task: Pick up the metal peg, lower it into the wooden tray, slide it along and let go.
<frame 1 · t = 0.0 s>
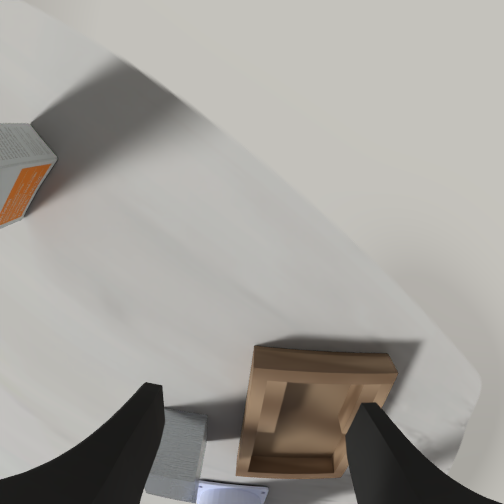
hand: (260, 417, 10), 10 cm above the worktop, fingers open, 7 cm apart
skincare box: (27, 171, 18), on the worktop
wooden tray: (304, 416, 23), on the worktop
metal peg: (184, 425, 24), on the worktop
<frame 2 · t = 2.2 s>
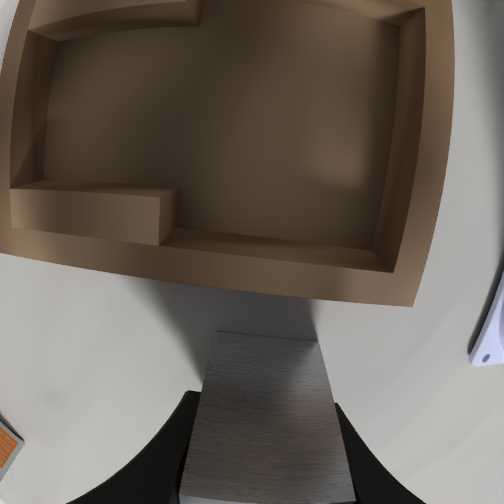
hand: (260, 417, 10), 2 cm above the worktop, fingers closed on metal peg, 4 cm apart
wooden tray: (205, 105, 9), on the worktop
metal peg: (261, 375, 12), on the worktop, touching gripper
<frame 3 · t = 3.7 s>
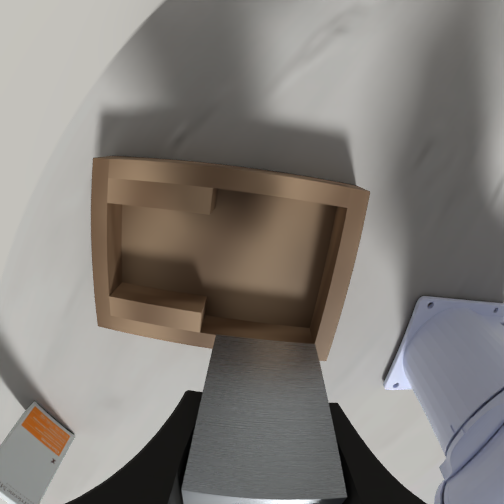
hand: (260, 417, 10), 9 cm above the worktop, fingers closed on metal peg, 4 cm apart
skincare box: (49, 421, 25), on the worktop
wooden tray: (220, 252, 18), on the worktop
metal peg: (260, 376, 13), point 7 cm above the worktop, touching gripper
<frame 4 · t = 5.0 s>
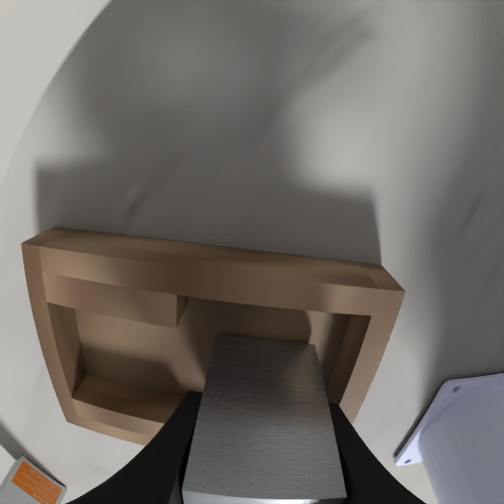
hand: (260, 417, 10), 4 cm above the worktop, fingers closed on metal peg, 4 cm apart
skincare box: (40, 472, 21), on the worktop
wooden tray: (200, 351, 13), on the worktop
metal peg: (259, 376, 13), point 1 cm above the worktop, touching gripper
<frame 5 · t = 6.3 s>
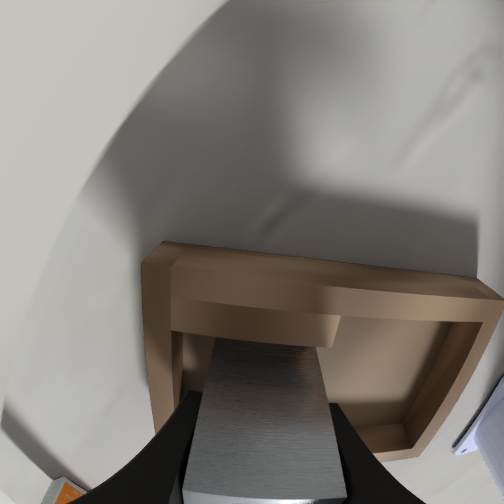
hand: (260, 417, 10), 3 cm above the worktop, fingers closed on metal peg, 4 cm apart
skincare box: (81, 491, 21), on the worktop
wooden tray: (318, 365, 13), on the worktop
metal peg: (259, 376, 13), point 1 cm above the worktop, touching gripper
when the fingers open (3 cm above the worktop, at t = 7.7 s): metal peg stays where it is, resting on wooden tray.
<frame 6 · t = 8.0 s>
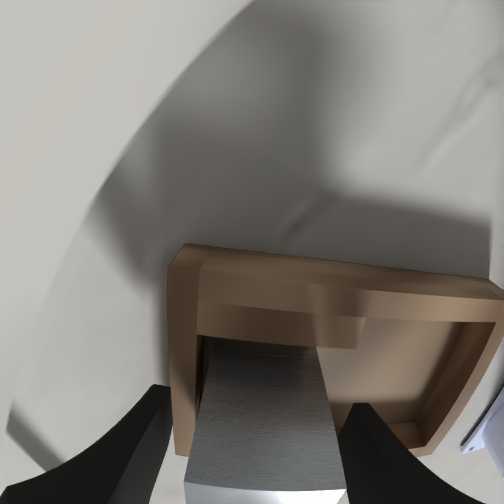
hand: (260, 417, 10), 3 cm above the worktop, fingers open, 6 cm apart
wooden tray: (337, 366, 13), on the worktop
metal peg: (260, 373, 13), resting on wooden tray
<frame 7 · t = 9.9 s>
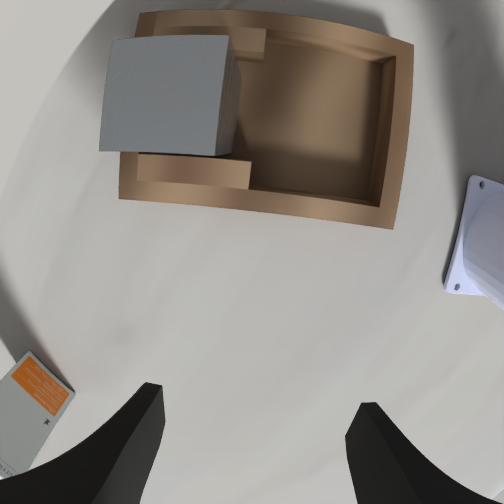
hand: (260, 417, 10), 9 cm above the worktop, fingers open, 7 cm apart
skincare box: (46, 378, 23), on the worktop
wooden tray: (267, 112, 16), on the worktop
metal peg: (200, 113, 15), resting on wooden tray
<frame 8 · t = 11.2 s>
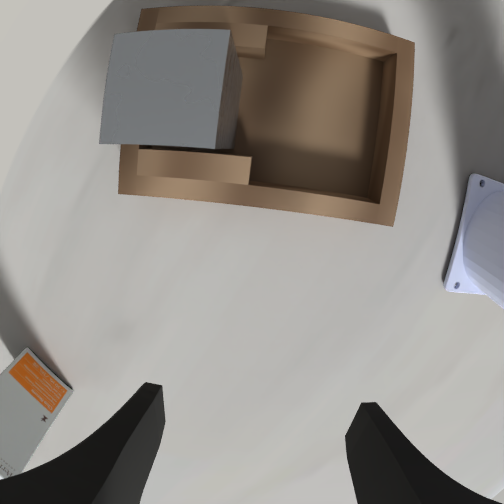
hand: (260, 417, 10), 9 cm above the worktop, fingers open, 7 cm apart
skincare box: (44, 375, 23), on the worktop
wooden tray: (268, 108, 15), on the worktop
metal peg: (200, 108, 15), resting on wooden tray
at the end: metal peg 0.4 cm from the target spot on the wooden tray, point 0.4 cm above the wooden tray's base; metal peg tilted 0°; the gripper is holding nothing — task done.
